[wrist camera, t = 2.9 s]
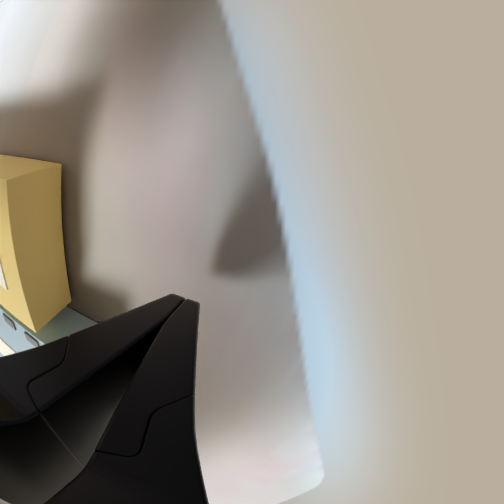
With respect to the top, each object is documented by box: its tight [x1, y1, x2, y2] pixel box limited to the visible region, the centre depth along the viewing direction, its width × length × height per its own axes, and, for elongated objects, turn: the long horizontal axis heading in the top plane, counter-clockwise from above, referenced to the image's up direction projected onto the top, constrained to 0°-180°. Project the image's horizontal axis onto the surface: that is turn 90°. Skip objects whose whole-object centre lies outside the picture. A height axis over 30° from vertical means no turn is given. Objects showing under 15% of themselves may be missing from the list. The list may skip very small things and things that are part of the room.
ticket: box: [0, 304, 98, 357], centre depth 11 cm, size 8×14×3 cm, turn 77°
